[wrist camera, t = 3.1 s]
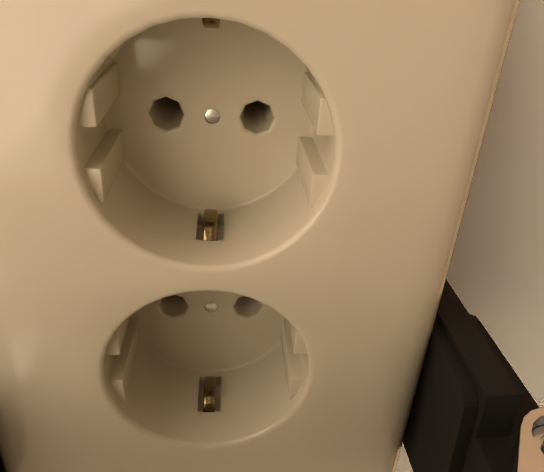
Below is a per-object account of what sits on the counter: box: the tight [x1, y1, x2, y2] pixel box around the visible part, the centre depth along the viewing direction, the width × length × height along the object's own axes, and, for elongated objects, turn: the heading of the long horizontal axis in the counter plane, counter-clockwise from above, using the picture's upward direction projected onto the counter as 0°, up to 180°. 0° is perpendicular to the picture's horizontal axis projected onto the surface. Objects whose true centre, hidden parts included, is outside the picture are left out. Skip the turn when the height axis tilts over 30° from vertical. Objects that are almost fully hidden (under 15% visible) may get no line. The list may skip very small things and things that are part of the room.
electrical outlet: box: [0, 0, 520, 472], centre depth 11 cm, size 7×4×18 cm
